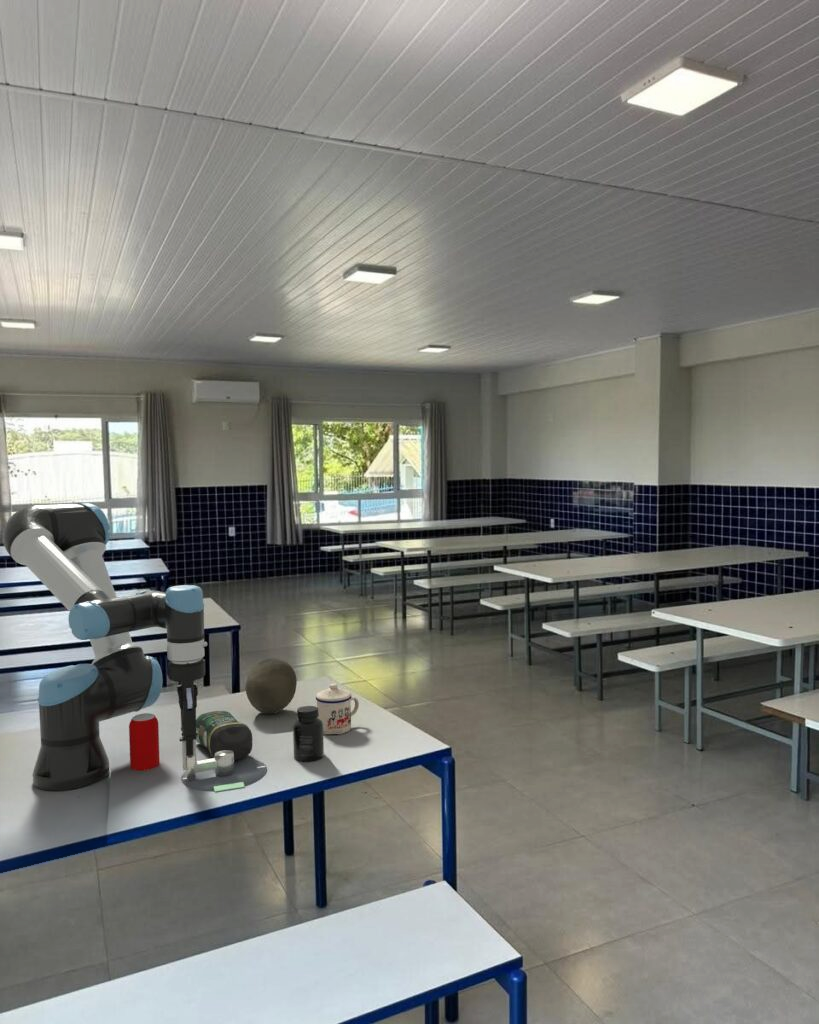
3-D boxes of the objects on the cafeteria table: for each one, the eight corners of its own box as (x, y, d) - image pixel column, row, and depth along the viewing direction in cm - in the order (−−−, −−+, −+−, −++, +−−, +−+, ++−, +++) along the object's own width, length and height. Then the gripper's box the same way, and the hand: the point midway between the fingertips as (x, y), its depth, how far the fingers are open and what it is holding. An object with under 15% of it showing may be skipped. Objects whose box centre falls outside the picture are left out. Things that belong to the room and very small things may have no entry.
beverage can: (125, 774, 161) (123, 720, 161) (139, 763, 167) (137, 711, 167) (151, 775, 160) (149, 721, 160) (164, 764, 167) (163, 712, 166)
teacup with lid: (328, 738, 182) (327, 692, 181) (309, 728, 189) (308, 683, 188) (368, 727, 189) (367, 683, 188) (348, 718, 196) (348, 675, 196)
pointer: (231, 766, 161) (231, 745, 161) (236, 773, 158) (235, 751, 158) (184, 775, 157) (184, 754, 157) (188, 782, 153) (187, 760, 153)
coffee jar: (231, 707, 182) (256, 724, 166) (232, 739, 182) (256, 759, 166) (192, 712, 177) (213, 730, 161) (192, 745, 177) (214, 767, 161)
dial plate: (184, 802, 147) (183, 796, 147) (178, 768, 164) (178, 763, 164) (274, 787, 154) (273, 781, 154) (260, 756, 170) (259, 751, 170)
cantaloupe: (236, 712, 202) (235, 658, 201) (283, 702, 211) (281, 650, 210) (259, 726, 191) (258, 669, 190) (307, 715, 199) (306, 660, 199)
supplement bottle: (330, 758, 169) (329, 707, 168) (310, 768, 163) (308, 715, 162) (307, 752, 173) (306, 702, 172) (287, 762, 167) (286, 710, 166)
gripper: (207, 665, 151) (211, 777, 152) (201, 650, 163) (204, 754, 164) (169, 668, 148) (173, 783, 150) (166, 654, 160) (169, 759, 162)
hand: (189, 768), depth 157 cm, fingers closed
